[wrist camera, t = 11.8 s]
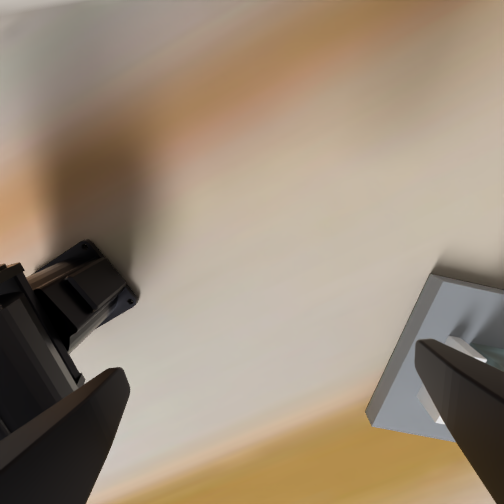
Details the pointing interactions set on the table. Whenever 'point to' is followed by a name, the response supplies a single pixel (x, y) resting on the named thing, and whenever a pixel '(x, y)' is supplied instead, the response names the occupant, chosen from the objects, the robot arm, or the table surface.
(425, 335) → the base plate
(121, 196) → the table surface
